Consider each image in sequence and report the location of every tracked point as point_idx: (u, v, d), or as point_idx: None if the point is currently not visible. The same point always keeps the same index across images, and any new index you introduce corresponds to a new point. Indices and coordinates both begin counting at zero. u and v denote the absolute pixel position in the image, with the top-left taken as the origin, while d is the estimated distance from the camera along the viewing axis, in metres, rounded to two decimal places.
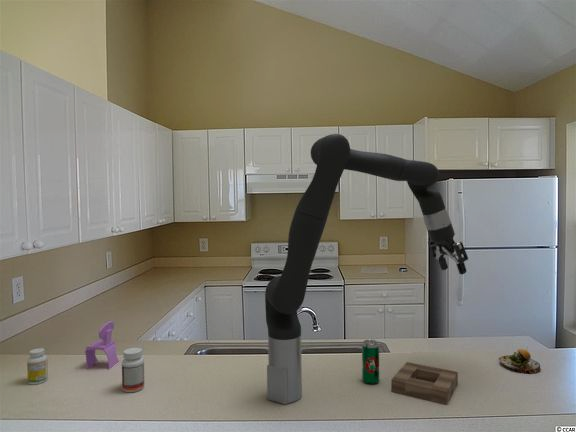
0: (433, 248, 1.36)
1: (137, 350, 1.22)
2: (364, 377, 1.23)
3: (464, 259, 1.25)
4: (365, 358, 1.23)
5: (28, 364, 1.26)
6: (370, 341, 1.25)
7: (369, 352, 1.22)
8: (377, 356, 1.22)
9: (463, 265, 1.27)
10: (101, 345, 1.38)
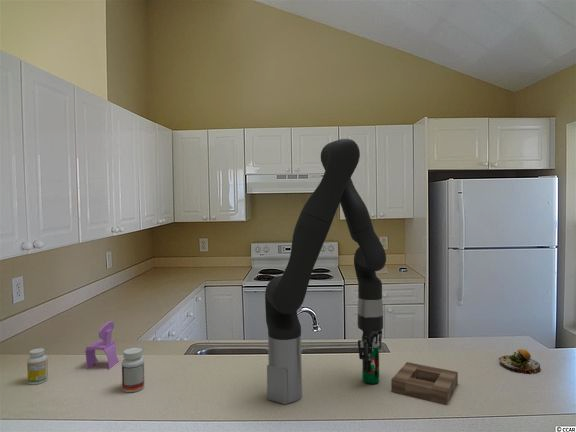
0: None
1: (137, 350, 1.22)
2: (364, 377, 1.23)
3: (363, 357, 1.20)
4: None
5: (28, 364, 1.26)
6: None
7: None
8: (377, 356, 1.22)
9: (366, 364, 1.21)
10: (101, 345, 1.38)
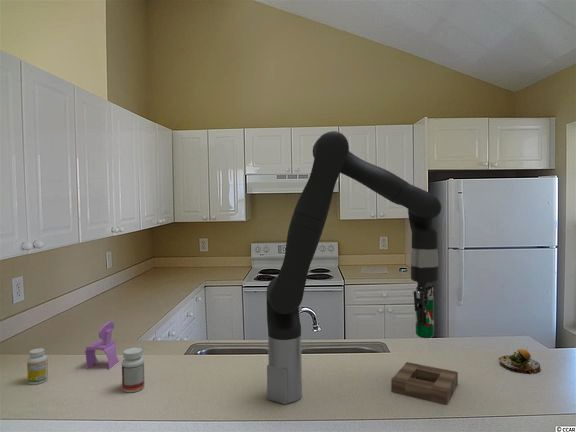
0: None
1: (137, 350, 1.22)
2: (418, 331, 1.18)
3: (419, 309, 1.15)
4: None
5: (28, 364, 1.26)
6: None
7: None
8: (432, 309, 1.17)
9: (421, 316, 1.16)
10: (101, 345, 1.38)
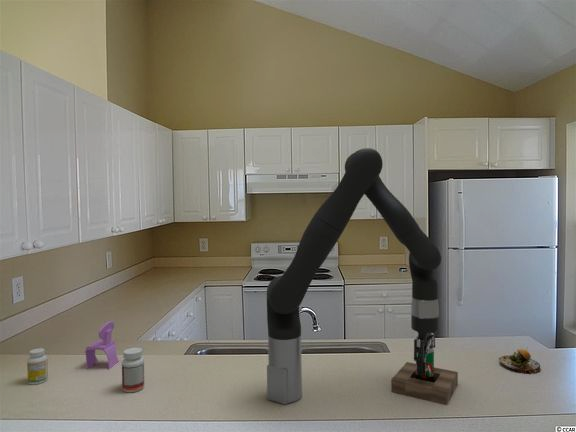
0: None
1: (137, 350, 1.22)
2: None
3: (418, 359, 1.14)
4: None
5: (28, 364, 1.26)
6: None
7: None
8: (432, 361, 1.18)
9: (421, 366, 1.15)
10: (101, 345, 1.38)
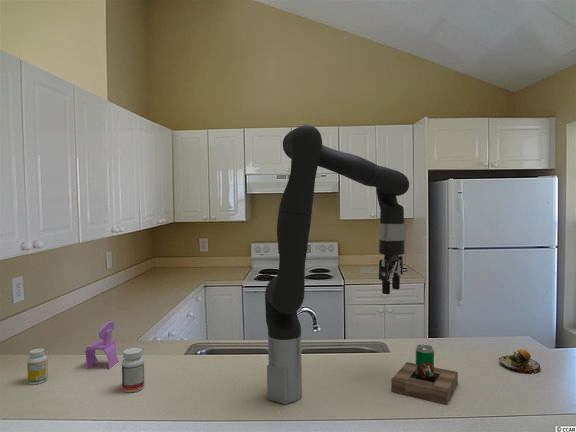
0: None
1: (137, 350, 1.22)
2: None
3: (382, 278, 1.21)
4: (420, 364, 1.18)
5: (28, 364, 1.26)
6: (424, 346, 1.20)
7: (425, 357, 1.17)
8: (432, 361, 1.18)
9: (385, 285, 1.22)
10: (101, 345, 1.38)
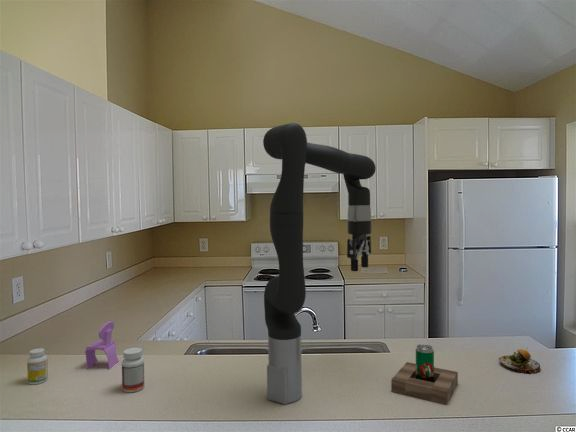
0: None
1: (137, 350, 1.22)
2: None
3: (350, 255, 1.29)
4: (420, 364, 1.18)
5: (28, 364, 1.26)
6: (424, 346, 1.20)
7: (425, 357, 1.17)
8: (432, 361, 1.18)
9: (354, 262, 1.30)
10: (101, 345, 1.38)
